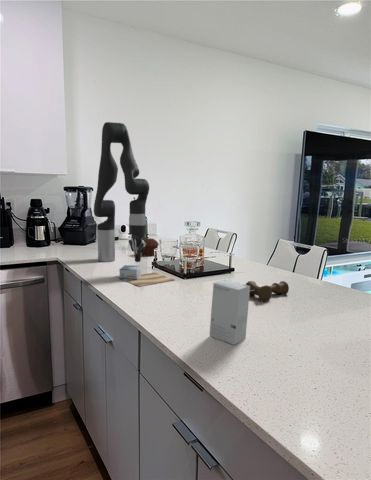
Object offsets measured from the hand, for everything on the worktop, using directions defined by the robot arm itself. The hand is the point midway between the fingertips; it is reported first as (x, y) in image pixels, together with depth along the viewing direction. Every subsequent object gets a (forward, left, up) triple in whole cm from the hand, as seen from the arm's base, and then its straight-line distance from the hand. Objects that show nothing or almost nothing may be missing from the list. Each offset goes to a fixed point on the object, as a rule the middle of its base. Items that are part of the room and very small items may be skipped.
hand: (137, 261), depth 150 cm
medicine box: (-2, -1, -4) cm, 5 cm away
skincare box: (+71, -14, -7) cm, 73 cm away
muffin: (-39, +31, -7) cm, 50 cm away
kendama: (+54, +23, -7) cm, 59 cm away
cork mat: (+9, 0, -6) cm, 11 cm away
